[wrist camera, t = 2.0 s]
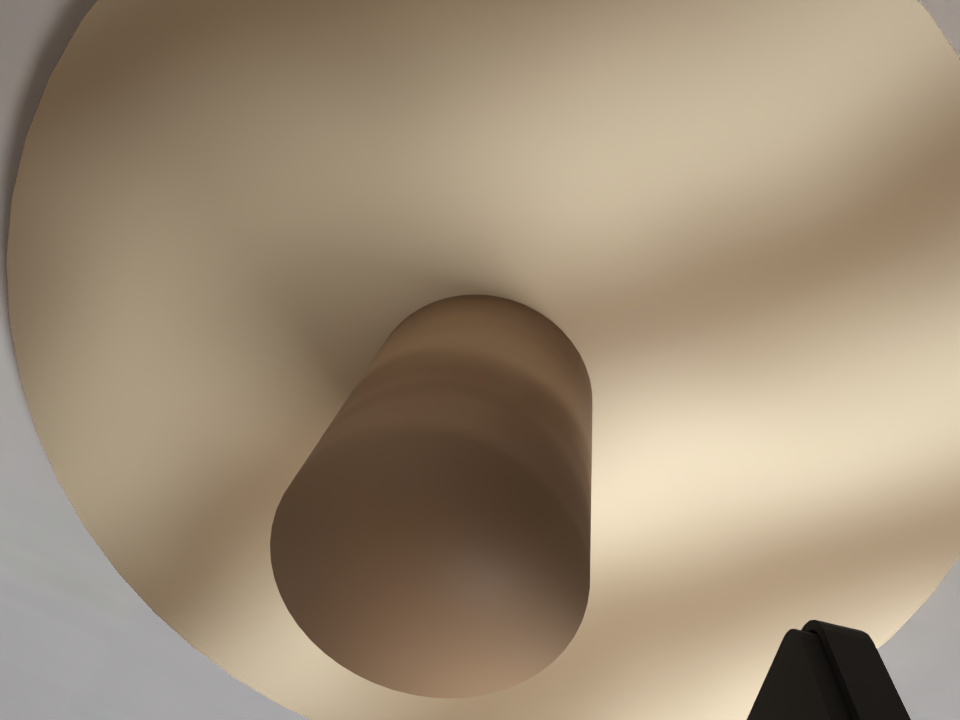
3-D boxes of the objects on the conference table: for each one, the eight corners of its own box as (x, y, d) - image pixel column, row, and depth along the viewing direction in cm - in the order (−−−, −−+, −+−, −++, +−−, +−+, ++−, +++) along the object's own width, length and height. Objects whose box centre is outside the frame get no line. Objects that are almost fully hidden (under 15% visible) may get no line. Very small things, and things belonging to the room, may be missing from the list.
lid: (1185, 498, 15) (1540, 785, 9) (422, 832, 21) (358, 1126, 15) (614, -511, 10) (633, -1102, 5) (-132, 272, 16) (-498, 397, 11)
